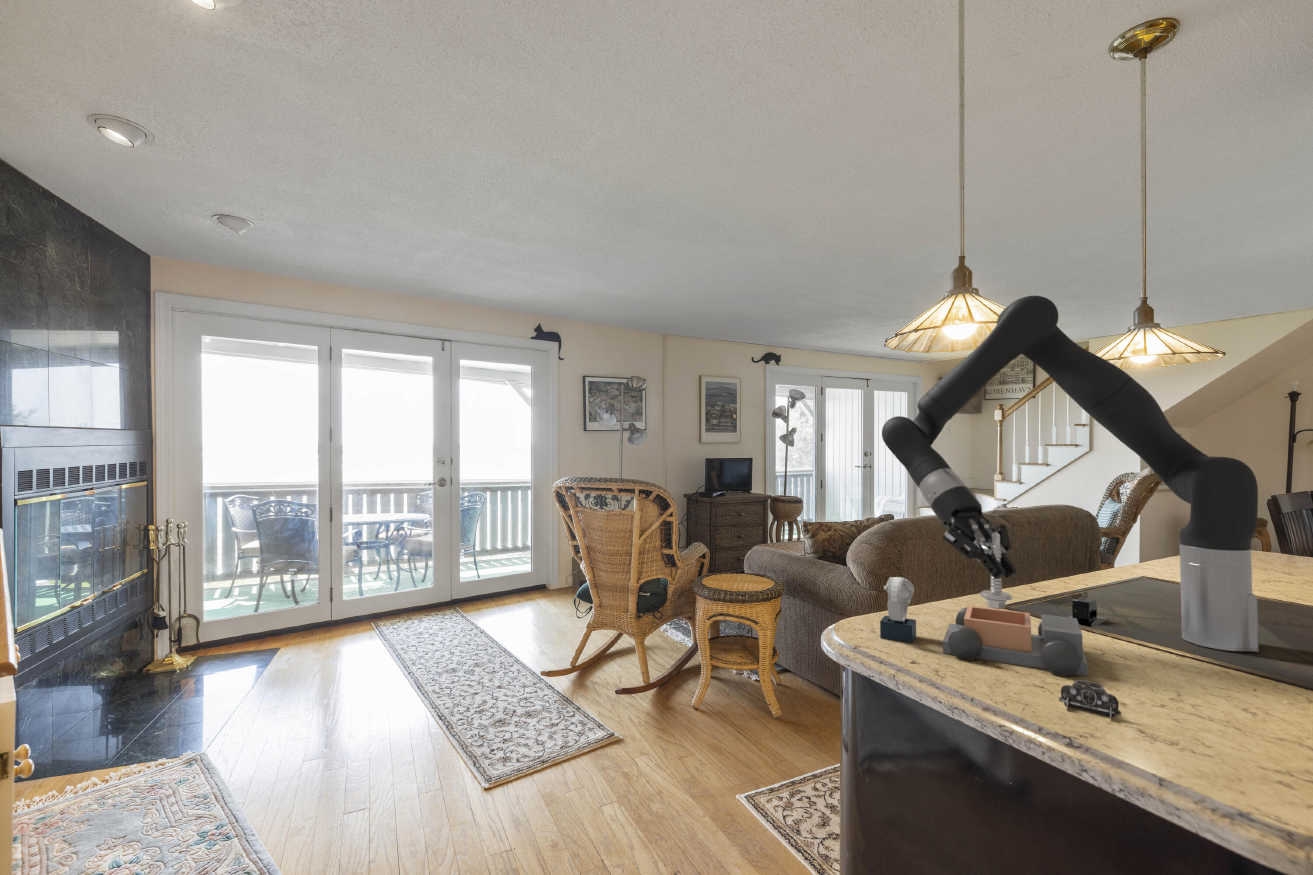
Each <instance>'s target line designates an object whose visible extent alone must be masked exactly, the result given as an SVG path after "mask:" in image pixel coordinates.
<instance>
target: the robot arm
mask: <svg viewBox="0 0 1313 875" xmlns="http://www.w3.org/2000/svg"><path fill="white" fill-rule="evenodd" d="M1059 316H1060V315H1059V310H1058V308H1057V306H1056V304H1055V303H1054V302H1053V300H1051V299H1049V298H1048V297H1045V296H1043V295H1042V296H1041V295H1027V296H1023V297H1019V298H1018V299H1016V300H1014V301H1012V302H1011V303H1010V304H1009V305H1007V306H1006V307H1005V308H1004V309H1003V310H1002V311H1000V313H999V315H998V317H997V321H996V326H994V328H993V329H992V331H991V332H990V334H988V335H987V337H986V338H985V339H984V340H983V341H982V342H981V343H980V344H979V345H977V347H976V348H975V349H974V350H973V351H972V352H971V353H970V354H968V355H967V356H966V357H965V358H964V359H962V360H961V361H960V362H959V363H958V364H956V365H955V366H954V367H953V368H952V369H951V370H950V371H948V372H947V373H946V374H945V375H944V376H943V377H941V378H940V379H939V380H938V381H937V382H936V383H935V384H934V385H933V386H931V388H930V389H929V390H928V391H927V392H926V393H925V394H924V395H923V396H922V397H921V398H920V399H919V400H918V402H917V404H916V405H917V409H918V414H917V415H916V417H915V418H914V420H912V419H911V418H908V417H906V416H902V415H901V416H893V417H891V418H889V419H888V420H887V421H886V422H885V423H884V424H883V425H882V430H881V437H882V441H883V442H884V444H885V445H886V447H887V449H888V450H889V451H890V452H891V453H892V455H894V457H895V458H896V459H897V460H898V461H899V463H900V464H902V467H904V469H905V470H906V471H907V473H908V474H909V475H910V477H911V479H912V480H913V482H914V483H915V485H916V486H917V488H918V489H919V491H920V492H921V495H922V496H923V499H924V500H925V501H926V503H927V504H928V506H929V508H931V510H932V511H933V513H934V514H935V515H936V517H937V519H938V520H939V521H940V522H941V524H942V525H943V527H945V528H947V530H946V531H945V532H944V533H943V534H942V535H941V538H942V539H943V540H944V541H945V542H947V544H949V545H951V546H952V548H954V549H955V550H957V552H960V553H961V554H962V555H963V556H965V557H966V558H967V559H969V560H972V559H976V560H977V562H979V563H982V565H983V566H984V568H985V569H986V570H987V572H988V573H989V575H990V574H991V575H992V576H993V577H994V578H995V579H1000V578H1001V577H1002V578H1003V577H1005V578H1006V579H1007V578H1008V579H1009V578H1010V579H1011V578H1013V577H1014V576H1015V575H1016V574H1017V572H1018V571H1017V567H1016V566H1015V565H1014V564H1013V562H1012V561H1011V559H1010V558H1009V557H1008V556H1007V553H1008V552H1009V551H1010V550H1011V549H1012V544H1011V541H1010V536H1009V532H1008V530H1007V526H1006V525H1005V524H1002V523H1001V524H999V525H995V524H992V523H991V521H990V520H989V519H988V518H987V517H985V516H984V515H983V511H982V510H983V507H982V504H981V502H980V501H979V500H978V498H977V497H976V496H975V495H974V493H973V492H972V491H971V490H970V488H969V487H968V486H967V485H966V484H965V482H964V480H963V479H962V478H961V477H960V476H959V475H958V474H956V472H955V471H954V470H953V469H952V468H951V465H949V464H948V462H947V461H946V460H945V459H944V457H943V456H941V454H940V453H938V451H936V450H935V449H934V448H933V447H932V445H933V443H934V442H935V441H936V439H937V438H938V436H939V435H940V434H941V432H942V431H943V429H944V427H945V426H946V424H947V423H948V422H949V421H950V420H951V419H952V418H953V417H955V415H957V414H958V412H960V411H961V410H962V409H963V408H964V407H966V405H967V404H969V402H970V401H971V400H972V399H973V398H974V397H975V396H976V395H977V394H978V393H979V392H980V391H981V390H982V389H983V388H984V387H985V386H986V385H988V383H990V381H991V380H992V379H993V378H994V377H995V376H996V375H997V374H998V373H999V372H1001V371H1002V370H1003V369H1004V368H1005V367H1006V366H1008V365H1009V364H1010V363H1011V362H1012V361H1014V360H1015V359H1016V358H1017V357H1019V356H1020V355H1023V357H1025V358H1026V359H1028V360H1029V361H1031V362H1032V363H1033V364H1035V365H1036V366H1037V367H1039V368H1040V369H1041V370H1042V371H1044V373H1045V374H1047V375H1048V376H1049V377H1050V378H1051V379H1052V380H1053V381H1054V383H1056V384H1057V385H1058V386H1059V388H1061V389H1062V390H1063V392H1064V393H1066V395H1068V397H1070V398H1071V399H1072V400H1073V401H1074V402H1075V403H1076V404H1077V405H1078V407H1080V408H1081V409H1082V410H1084V411H1085V413H1087V414H1088V415H1089V416H1090V417H1091V418H1093V419H1094V420H1095V421H1096V422H1097V423H1098V424H1100V425H1101V426H1102V427H1103V428H1104V429H1106V430H1107V431H1108V432H1110V433H1111V435H1112V436H1114V437H1115V438H1116V439H1118V440H1119V441H1120V442H1121V443H1122V444H1124V445H1125V447H1127V448H1129V449H1130V450H1131V451H1132V452H1134V453H1135V454H1136V456H1137V455H1138V457H1139V458H1140V459H1141V460H1143V461H1144V463H1146V464H1147V466H1148V467H1150V469H1151V470H1152V471H1153V472H1154V473H1155V474H1156V476H1157V477H1159V478H1160V480H1161V481H1162V482H1163V483H1164V484H1165V486H1166V487H1168V489H1169V490H1170V491H1171V492H1173V494H1174V495H1175V496H1177V497H1178V498H1179V499H1181V500H1182V501H1184V502H1186V503H1188V504H1190V516H1189V520H1188V523H1187V524H1186V525H1185V526H1183V527H1182V528H1181V529H1180V530H1179V533H1178V534H1179V535H1178V536H1179V568H1180V569H1179V570H1180V572H1179V573H1180V576H1179V577H1180V604H1181V605H1180V606H1181V608H1180V609H1181V612H1180V613H1181V626H1180V627H1181V638H1182V639H1183V640H1185V641H1186V642H1189V643H1191V644H1194V645H1197V646H1201V647H1206V648H1211V649H1215V650H1221V651H1229V652H1230V651H1231V652H1254V653H1259V651H1260V650H1259V620H1258V618H1259V617H1258V597H1257V595H1256V594H1254V593H1253V575H1252V572H1253V571H1252V570H1253V568H1252V540H1253V538H1254V536H1255V534H1256V532H1257V528H1258V511H1259V510H1258V509H1259V508H1258V507H1259V489H1258V488H1259V487H1258V481H1257V477H1256V474H1255V473H1254V472H1253V470H1252V469H1251V468H1250V466H1249V465H1247V463H1245V462H1243V461H1241V460H1239V459H1236V458H1234V457H1233V458H1232V457H1229V456H1228V457H1227V456H1209V455H1207V454H1205V453H1204V452H1202V451H1201V450H1200V449H1198V448H1196V447H1195V446H1194V445H1193V444H1191V442H1189V441H1187V440H1186V439H1185V438H1183V436H1181V435H1180V434H1179V433H1178V432H1177V431H1176V429H1175V428H1173V427H1172V425H1171V424H1170V422H1169V421H1168V419H1167V416H1165V413H1164V411H1163V410H1162V408H1161V406H1160V405H1159V403H1158V401H1157V400H1156V399H1155V398H1154V396H1153V395H1152V394H1151V393H1150V392H1149V391H1148V390H1147V389H1146V388H1145V387H1144V386H1143V385H1141V384H1140V383H1139V382H1138V381H1136V380H1135V378H1133V377H1132V376H1130V375H1129V374H1128V373H1127V372H1125V371H1124V370H1122V368H1120V367H1118V366H1117V365H1115V364H1113V363H1112V362H1110V361H1108V360H1107V359H1105V358H1104V357H1103V358H1102V357H1100V356H1099V355H1097V354H1095V353H1093V352H1091V351H1089V350H1087V349H1085V348H1084V347H1082V346H1080V345H1079V344H1077V343H1076V342H1074V341H1073V340H1072V339H1071V338H1070V337H1069V336H1067V335H1066V333H1064V331H1062V329H1060V327H1059V326H1058V323H1059ZM994 532H997V533H998V534H1000V549H1002V550H1001V552H1002V554H1001V556H1002V557H1001V559H1002V560H1001V563H1002V564H1000V563H999V562H998V560H997V559H996V558H995V556H994V555H993V554H990V553H991V551H990V550H991V534H992V533H994ZM964 545H965V546H964ZM991 575H990V576H991ZM1002 578H1001V579H1002Z"/></svg>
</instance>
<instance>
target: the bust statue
mask: <svg viewBox="0 0 1313 875" xmlns="http://www.w3.org/2000/svg"><path fill="white" fill-rule="evenodd" d="M883 590H886V592H887V594H888V595H887V599H888V600H887V602H886V603H887V615H884V616H883V617H882V618H881V619H880V621H879V633H880V634H879V636H880V639H883V640H889V641H890V640H891V641H896V642H901V643H909V644H913V643H914V641H915V640H916V638H917V620H916V619H912V618H907V614H908V605H910V604H911V601H912V598H913V596H914V593H915V587H914V585H913V583H912V582H911V581H910V580H909V579H906V578H905V577H900V576H893V577H891V576H890V577H889V578H888V580H887V582H886V585H884V586H883Z"/></svg>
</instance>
